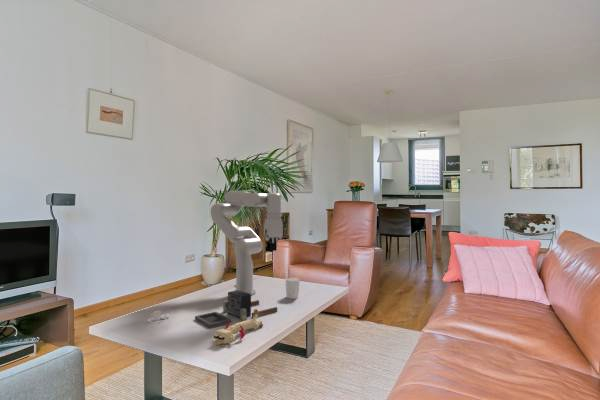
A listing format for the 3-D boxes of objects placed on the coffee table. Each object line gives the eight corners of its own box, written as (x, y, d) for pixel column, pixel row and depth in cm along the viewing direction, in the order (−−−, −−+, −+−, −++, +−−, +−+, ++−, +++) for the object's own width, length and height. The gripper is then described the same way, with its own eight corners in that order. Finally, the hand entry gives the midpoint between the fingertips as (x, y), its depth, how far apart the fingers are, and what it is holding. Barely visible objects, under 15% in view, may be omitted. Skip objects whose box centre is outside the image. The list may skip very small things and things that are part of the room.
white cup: (283, 296, 198) (283, 278, 198) (296, 294, 202) (296, 277, 201) (288, 299, 191) (288, 281, 191) (301, 298, 194) (301, 280, 194)
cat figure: (248, 327, 154) (205, 342, 133) (249, 306, 155) (207, 318, 133) (266, 331, 149) (225, 348, 127) (267, 310, 149) (227, 323, 128)
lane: (223, 311, 170) (223, 301, 170) (257, 303, 184) (257, 294, 184) (242, 321, 157) (242, 309, 157) (277, 311, 171) (277, 301, 171)
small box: (251, 315, 165) (252, 293, 165) (240, 319, 160) (240, 296, 160) (238, 310, 172) (238, 289, 172) (227, 314, 167) (227, 291, 167)
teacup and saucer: (169, 317, 163) (169, 308, 163) (167, 323, 156) (167, 313, 156) (149, 318, 162) (149, 309, 162) (145, 324, 154) (146, 315, 154)
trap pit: (194, 319, 159) (194, 316, 159) (215, 314, 166) (215, 311, 166) (210, 328, 148) (210, 324, 148) (231, 322, 155) (231, 319, 155)
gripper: (280, 215, 197) (280, 248, 197) (258, 216, 187) (258, 250, 187) (288, 216, 192) (288, 249, 192) (266, 217, 182) (266, 252, 182)
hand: (273, 250), depth 190 cm, fingers closed
